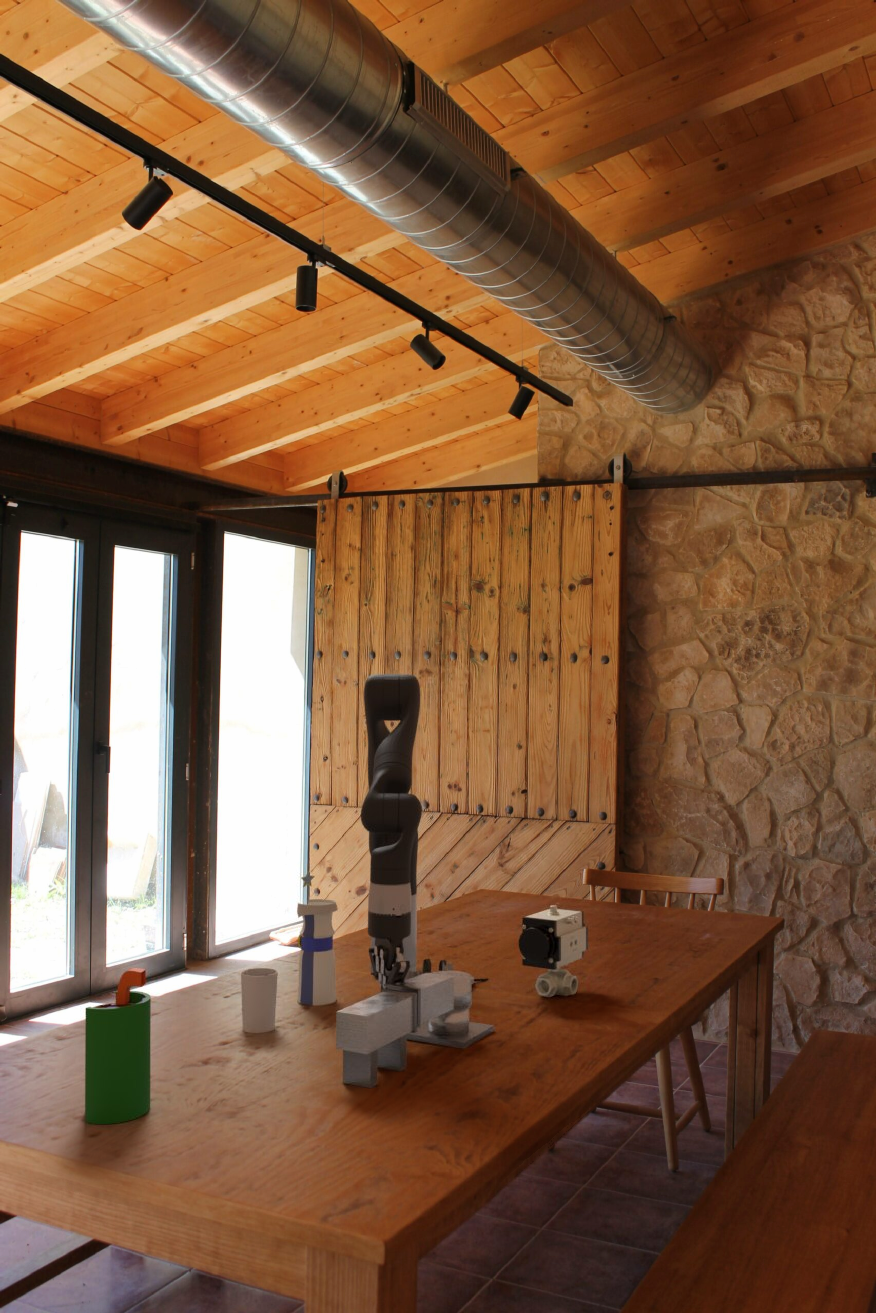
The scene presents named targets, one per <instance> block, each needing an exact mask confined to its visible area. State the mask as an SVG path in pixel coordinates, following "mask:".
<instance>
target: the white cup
mask: <svg viewBox="0 0 876 1313" xmlns="http://www.w3.org/2000/svg"><path fill="white" fill-rule="evenodd" d="M278 973H279V972H278V970H277V969H275V968H270V967H256V968H255V967H254V968H247V969H243V970H242V971H241V972H240V980H241V981H240V986H241V989H240V990H241V1015H242V1016H241V1018H242V1020H241V1022H242V1031H243V1032H247V1033H251V1034H252V1033H253V1034H260V1033H261V1034H262V1033H268V1032H272V1031H273V1030H275V1026H276V1009H277V993H278V992H277V991H278Z"/></svg>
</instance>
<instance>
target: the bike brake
mask: <svg viewBox="0 0 876 1313" xmlns="http://www.w3.org/2000/svg"><path fill="white" fill-rule="evenodd" d="M405 961H409V960H405ZM409 962H410V961H409ZM438 963H439V964H438V971H454V970H453V967H454V966H453V964H454V963H451V962H447V959H441V960H440V961H439V962H438ZM409 969H410V968H409ZM424 973H432V962H431V958H425V959H423V961H422V968H421V970H416V971H409V970H408V972H407V975H406V977H405V979H404V981H405V980H408V979H410V978H413V977H416V976H419V975H421V974H424ZM488 980H489V978H488V977H486V978H484V977H483V978H475V977H474V976H472V977H471V985H473V984H475V982H487V981H488Z"/></svg>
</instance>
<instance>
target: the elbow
mask: <svg viewBox="0 0 876 1313" xmlns="http://www.w3.org/2000/svg"><path fill="white" fill-rule="evenodd" d="M471 977H473V976H472V974H470V973H468V972H466V971H461V970H453V971H448V970H447V971H439V970H438V971H433V972H432V971H431V973H424V974H421V975H419V976H416V977H413V978H410V979H408V980H405V981H402V982H399V983H396V984H391V983H389V984H387V989H392V990H399V991H406V992H413V993H417V1027H420V1026H421V1023H423V1022H425V1021H428V1020H430V1019H432V1018H435V1017H437V1016H439V1015H442V1014H444V1013H446V1012H449V1011H451V1010H462V1009H466V1008H469V1009H470V1008H471V1006H472V984H471Z"/></svg>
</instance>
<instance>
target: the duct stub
mask: <svg viewBox="0 0 876 1313" xmlns="http://www.w3.org/2000/svg"><path fill="white" fill-rule="evenodd" d="M493 1032H495V1025H494V1024H488V1023H481V1022H474V1021H470V1007H469V1008H466V1009H462V1010H451V1011H449V1012H446V1013H444V1014H442V1015H439V1016H437V1017H435V1018H432V1019H430V1020H428V1021H425V1022H423V1023H421V1026H420V1027H417V1032H416V1033H411V1032H410V1033H408V1034H407V1040H409V1041H414V1042H422V1043H426V1044H431V1045H437V1046H445V1047H452V1048H456V1049H466V1048H467V1047H468V1048H469V1047H470V1046H471V1045H472V1044H474V1043H476V1042H478V1041H479V1040H481V1039H483V1038H484V1037H486V1036H487V1035H489V1034H491V1033H493Z"/></svg>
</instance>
